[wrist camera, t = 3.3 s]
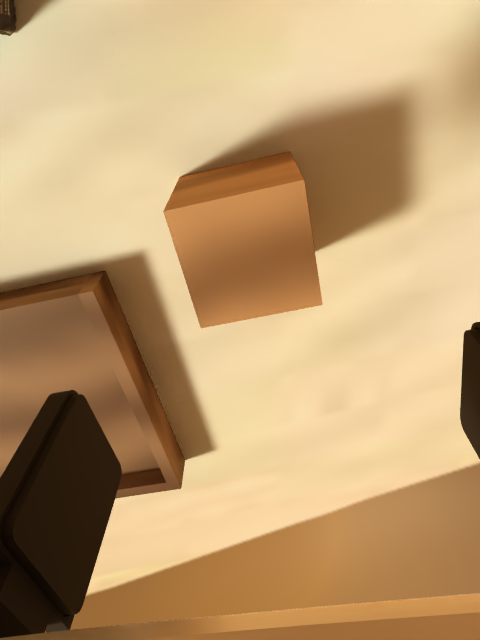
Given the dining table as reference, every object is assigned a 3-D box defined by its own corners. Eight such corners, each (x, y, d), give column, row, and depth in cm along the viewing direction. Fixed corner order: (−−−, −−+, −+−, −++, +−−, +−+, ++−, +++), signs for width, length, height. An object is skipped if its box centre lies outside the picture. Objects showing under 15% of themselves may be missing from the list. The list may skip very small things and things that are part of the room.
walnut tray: (-173, 329, 26) (-208, 353, 24) (105, 270, 24) (92, 291, 22) (-34, 494, 34) (-51, 522, 32) (184, 460, 32) (181, 488, 30)
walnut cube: (179, 176, 22) (163, 211, 17) (289, 151, 21) (304, 179, 17) (208, 275, 25) (200, 328, 20) (306, 255, 24) (322, 304, 19)
